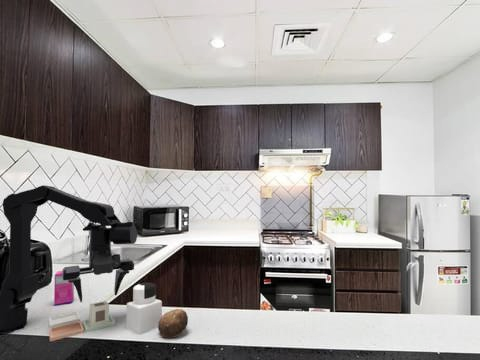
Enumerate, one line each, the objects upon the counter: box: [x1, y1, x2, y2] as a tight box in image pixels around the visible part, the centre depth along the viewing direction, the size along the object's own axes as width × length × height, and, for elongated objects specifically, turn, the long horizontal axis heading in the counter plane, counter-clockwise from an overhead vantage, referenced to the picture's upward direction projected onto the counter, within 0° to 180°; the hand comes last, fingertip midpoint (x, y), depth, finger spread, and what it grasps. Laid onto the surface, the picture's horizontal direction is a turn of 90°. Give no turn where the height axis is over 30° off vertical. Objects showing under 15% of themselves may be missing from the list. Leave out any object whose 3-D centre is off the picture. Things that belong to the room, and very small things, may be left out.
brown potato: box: [157, 308, 189, 339], centre depth 71 cm, size 8×8×6 cm
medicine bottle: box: [125, 282, 163, 335], centre depth 76 cm, size 7×7×12 cm
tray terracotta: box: [49, 320, 85, 342], centre depth 73 cm, size 8×8×1 cm
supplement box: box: [53, 270, 75, 307], centre depth 101 cm, size 6×6×12 cm
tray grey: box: [48, 311, 81, 330], centre depth 81 cm, size 8×8×1 cm
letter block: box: [88, 300, 110, 327], centre depth 78 cm, size 4×5×6 cm
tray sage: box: [81, 313, 116, 333], centre depth 78 cm, size 8×8×1 cm
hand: (98, 298), depth 79 cm, fingers open, 9 cm apart
